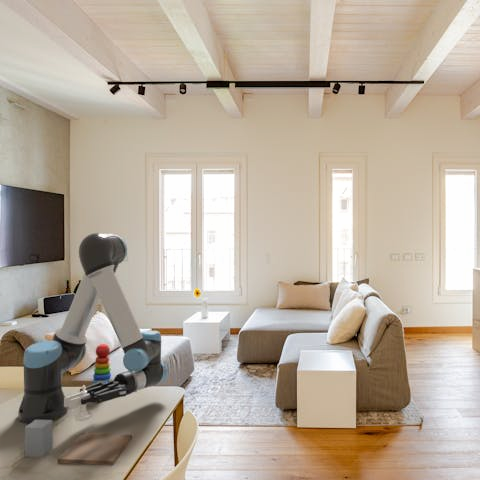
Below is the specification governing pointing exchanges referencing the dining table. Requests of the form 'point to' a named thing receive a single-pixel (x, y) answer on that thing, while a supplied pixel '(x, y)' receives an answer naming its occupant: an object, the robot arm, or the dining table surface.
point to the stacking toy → (102, 364)
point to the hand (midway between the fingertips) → (67, 403)
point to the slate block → (38, 438)
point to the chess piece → (83, 409)
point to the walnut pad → (96, 449)
